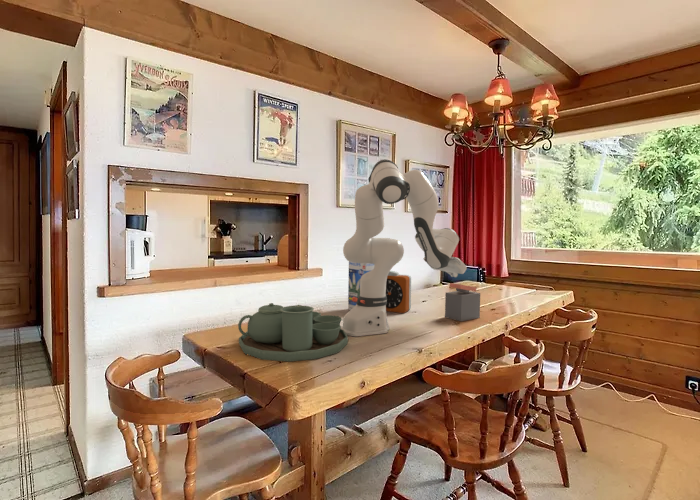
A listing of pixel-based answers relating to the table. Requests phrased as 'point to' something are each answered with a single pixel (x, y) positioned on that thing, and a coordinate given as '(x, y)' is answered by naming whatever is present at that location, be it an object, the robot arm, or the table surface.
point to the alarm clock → (398, 292)
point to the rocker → (462, 288)
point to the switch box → (462, 305)
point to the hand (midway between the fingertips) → (454, 275)
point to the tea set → (291, 334)
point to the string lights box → (356, 280)
